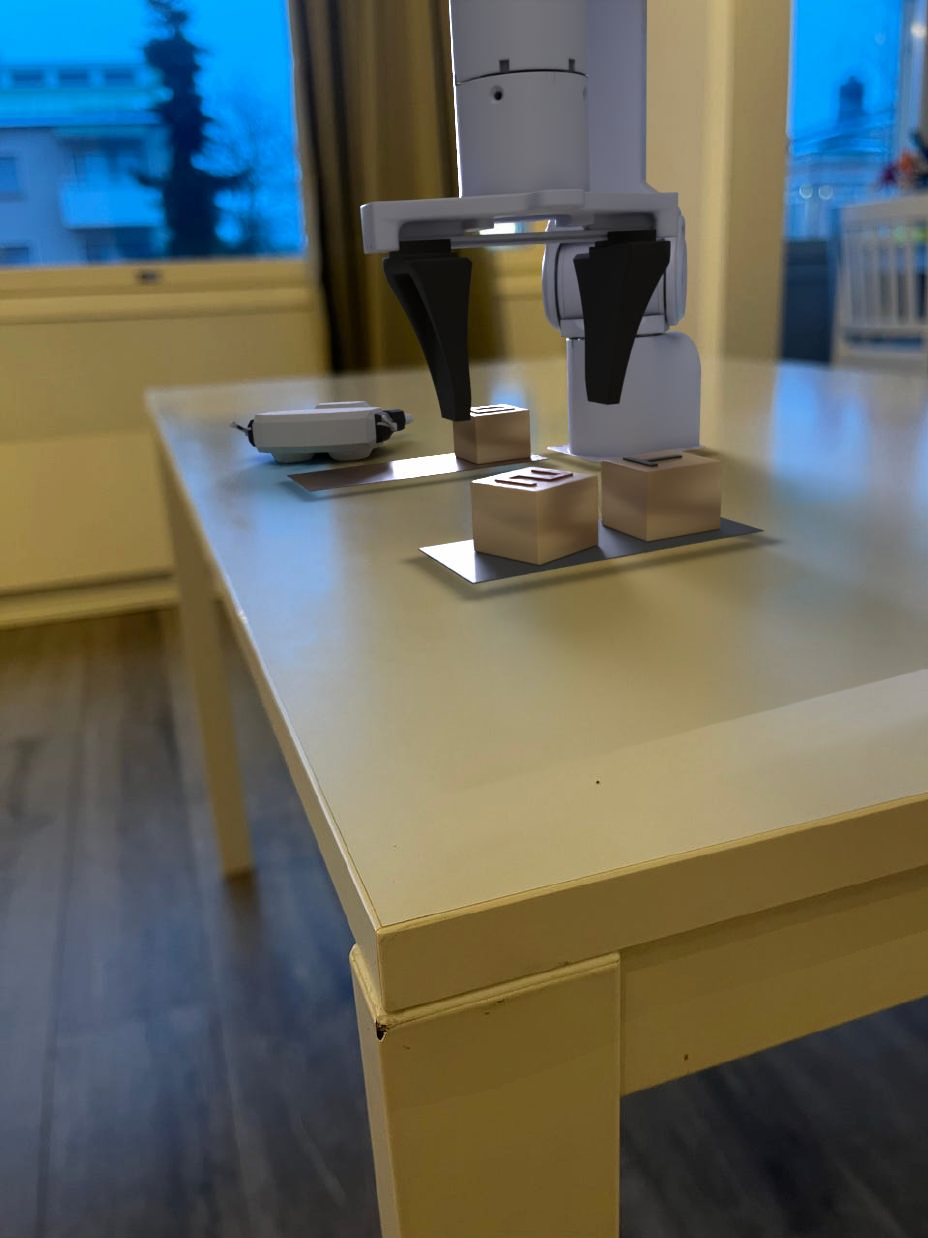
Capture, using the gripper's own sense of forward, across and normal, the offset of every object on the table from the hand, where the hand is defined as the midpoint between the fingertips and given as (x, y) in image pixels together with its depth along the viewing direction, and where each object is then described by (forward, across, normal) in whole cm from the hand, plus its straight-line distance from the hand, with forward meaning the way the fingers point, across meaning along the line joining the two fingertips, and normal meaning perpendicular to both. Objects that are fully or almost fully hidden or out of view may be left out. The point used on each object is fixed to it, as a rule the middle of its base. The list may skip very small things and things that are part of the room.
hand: (531, 410), depth 45 cm
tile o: (+7, +8, +25) cm, 27 cm away
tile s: (+7, 0, 0) cm, 7 cm away
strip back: (+7, +2, +25) cm, 26 cm away
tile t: (+7, +7, 0) cm, 10 cm away
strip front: (+7, +3, 0) cm, 8 cm away
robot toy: (+8, -1, +37) cm, 37 cm away
